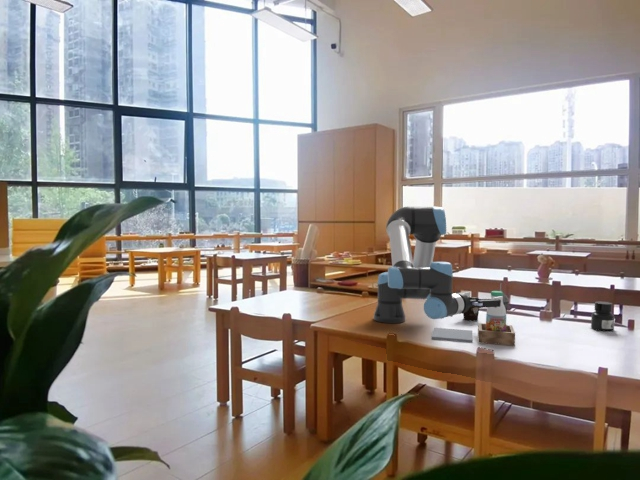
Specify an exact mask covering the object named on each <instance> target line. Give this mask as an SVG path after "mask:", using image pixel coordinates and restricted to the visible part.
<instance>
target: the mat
mask: <svg viewBox="0 0 640 480" xmlns="http://www.w3.org/2000/svg"><path fill="white" fill-rule="evenodd" d="M473 336H474V335H473V330H472V329H471V330H470V329H457V328H444V327H434V328H433V331H432V334H431V340H438V341H451V342H463V343H473V341H474V340H473V338H474V337H473Z"/></svg>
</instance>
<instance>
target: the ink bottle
mask: <svg viewBox="0 0 640 480" xmlns="http://www.w3.org/2000/svg"><path fill="white" fill-rule="evenodd" d="M612 312H613V303H612V302H608V301H594V311H593V312H592V313H591V316H590V317H591V318H590V319H591V322H590V323H591V325H590V328H591V329H592V328H593V330H595V329H597V330H596V331H600V330H604V331H603V332H609V331H608V330H613V331H614V330H615V315H614V314H613V313H612Z"/></svg>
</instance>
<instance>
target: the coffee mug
mask: <svg viewBox="0 0 640 480" xmlns="http://www.w3.org/2000/svg"><path fill="white" fill-rule="evenodd" d="M474 300H475V302H476V299H474ZM479 311H480V308H478V307H471V308H469V310H468V311H467V312H465V313H461V314H463V320H464V321H467V322H477V321H478V319H479Z"/></svg>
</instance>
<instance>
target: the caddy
mask: <svg viewBox="0 0 640 480" xmlns="http://www.w3.org/2000/svg"><path fill="white" fill-rule="evenodd" d="M477 339H478V344H485V345H486V344H489V345H501V346H512V347H515V346H516V332H515V330H514V326H513V325H510V324H506V332H501V331H488V330H486V322H485V323H484V322H483V323H481V322H478V323H477Z"/></svg>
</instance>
